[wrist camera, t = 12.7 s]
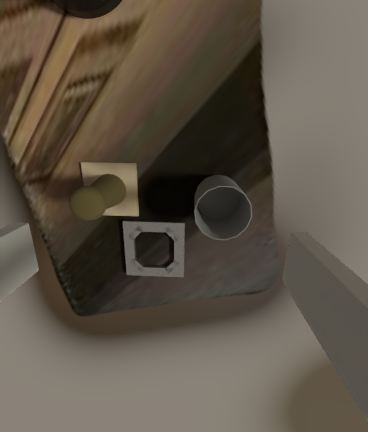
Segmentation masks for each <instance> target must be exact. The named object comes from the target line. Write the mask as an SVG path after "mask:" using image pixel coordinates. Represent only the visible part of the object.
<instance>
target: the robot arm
mask: <svg viewBox="0 0 368 432" xmlns="http://www.w3.org/2000/svg"><path fill="white" fill-rule="evenodd" d="M52 1H54V2H55V3H56V4H57V5H58V6H59V7H60V8H62V9H63V10H65V11H66V12H68V13H70V14H72V15H74V16H78V17H82V18H95V17H100V16H103V15H105V14H107V13H109V12H110V11H112V10H113V9H114V8H116V7H117V6H118V5H119V4H120V2H121V1H122V0H52ZM38 270H39V269H38V264H37V259H36V255H35V251H34V246H33V242H32V237H31V232H30V227H29V224H28V223H12V224H10V225H8V226H6V227H4V228H2V229H0V302H1V301H3V300H4V299H5V298H6V297H7V296H9V295H10V294H11V293H12V292H13V291H14V290H16V289H17V288H18V287H19V286H21V285H22V284H23V283H24V282H25V281H26V280H28V279H29V278H30V277H31V276H32V275H34V274H35V273H36V272H37V271H38ZM282 281H283V283H284V284H285V286H286V288H287V289H288V291H289V293H290V294H291V296H292V298H293V299H294V301H295V302H296V304H297V306H298V308H299V309H300V311H301V313H302V314H303V316H304V318H305V319H306V321H307V323H308V324H309V326H310V328H311V329H312V331H313V333H314V334H315V336H316V338H317V339H318V341H319V343H320V344H321V346H322V348H323V349H324V351H325V353H326V354H327V356H328V358H329V360H330V361H331V363H332V365H333V366H334V368H335V369H336V371H337V373H338V374H339V376H340V378H341V379H342V381H343V383H344V385H345V386H346V388H347V390H348V391H349V393H350V395H351V396H352V398H353V400H354V401H355V403H356V405H357V406H358V408H359V410H360V411H361V413H362V415H363V416H364V418H365V420H366V421H367V423H368V284H367V283H366V282H364V281H363V280H362V279H361V278H360V277H358V276H357V275H356V274H355V273H354V272H353V271H351V270H350V269H349V268H348V267H347V266H345V265H344V264H343V263H342V262H341V261H340V260H339V259H338V258H336V257H335V256H334V255H333V254H331V252H329V251H328V250H327V249H326V248H325V247H324V246H322V245H321V244H320V243H319V242H318V241H316V240H315V239H314V238H313V237H312V236H311V235H309V234H308V233H307V232H291V233H290V239H289V244H288V250H287V256H286V261H285V268H284V272H283V279H282Z"/></svg>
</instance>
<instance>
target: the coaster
mask: <svg viewBox="0 0 368 432" xmlns="http://www.w3.org/2000/svg"><path fill="white" fill-rule="evenodd" d="M81 169H82V176H83V184H84V186H90V185H91V184H92V183H93V182H94V181H95V180H97V179H98V178H99V177H100V176H102V175H104V174H113V175H116V176H118V177H119V178H120V179H121V180H122V181H123V182H124V184H125V186H126V196H125V199H124V200H123V201H122V202H121V203H120V204H118V205H115V206H113V207H111V208H108V209H106V210H105V212H104V214H103V215H114V216H139V207H138V188H137V169H136V163H109V162H81Z"/></svg>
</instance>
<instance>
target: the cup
mask: <svg viewBox="0 0 368 432" xmlns="http://www.w3.org/2000/svg"><path fill="white" fill-rule="evenodd" d="M194 213H195V221H196V224H197V226H198V227H199V229H200V230H201V231H202V233H203V234H205V235H207V236H209V237H210V238H212V239H218V240H228V239H231V238H234V237H237V236H239V235H240V234H241V233H242V232H243V231H244V230H245V229H247V227H248V225H249V222H250V220H251V218H252V207H251V203H250V201H249V200H248V198H247V196H246V195H245V193H244V192H243V191H242V190H241V189H240V187H239V186H238V185H237V184H236V183H235V182H234V181H233V180H231V179H230V178H228V177H227V176H222V175H213V176H210V177H208V178H205V179H204V180H203V181H202V182H201V183H200V184H199V185H198V187H197V190H196V193H195V204H194Z"/></svg>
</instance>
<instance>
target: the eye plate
mask: <svg viewBox="0 0 368 432" xmlns="http://www.w3.org/2000/svg"><path fill="white" fill-rule="evenodd" d="M141 232H166V233H167V234H168V235H169V236H170V237H171V238H172V239H173V240H174V260H173V261H172V262H170V263H169V264H168V265H167V266H164V265H144V264H143V263H142V262H141V261H140V260H139V259H138V258H136V242H135V237H136V236H138V235H139V234H140V233H141ZM123 233H124V246H125V259H126V272H127V275H141V276H165V277H184V241H185V221H154V220H123Z"/></svg>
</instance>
